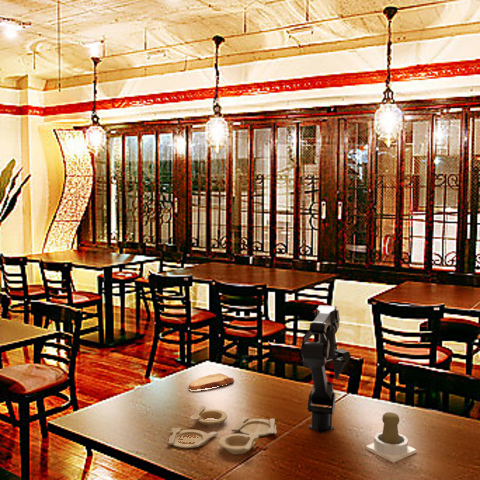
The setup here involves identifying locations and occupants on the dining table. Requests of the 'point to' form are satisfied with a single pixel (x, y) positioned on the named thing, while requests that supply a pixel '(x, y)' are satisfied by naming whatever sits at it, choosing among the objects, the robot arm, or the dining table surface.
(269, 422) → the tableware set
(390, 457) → the guard dock
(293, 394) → the dining table surface
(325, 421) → the robot arm
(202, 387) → the bread slice
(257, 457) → the dining table surface
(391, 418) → the cork
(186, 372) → the dining table surface
